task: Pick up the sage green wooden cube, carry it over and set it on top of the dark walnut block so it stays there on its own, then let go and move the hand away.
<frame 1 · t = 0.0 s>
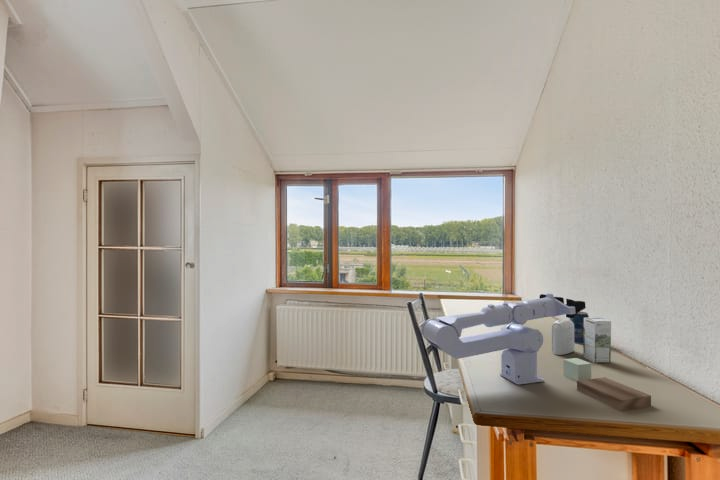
hand: (573, 302, 108), 22 cm above the table, tool horizontal, fingers open, 7 cm apart
photo printer: (563, 353, 126), on the table
soda can: (579, 342, 140), on the table
sage cube: (577, 377, 103), on the table
syrup box: (596, 361, 118), on the table
walnut block: (612, 399, 89), on the table
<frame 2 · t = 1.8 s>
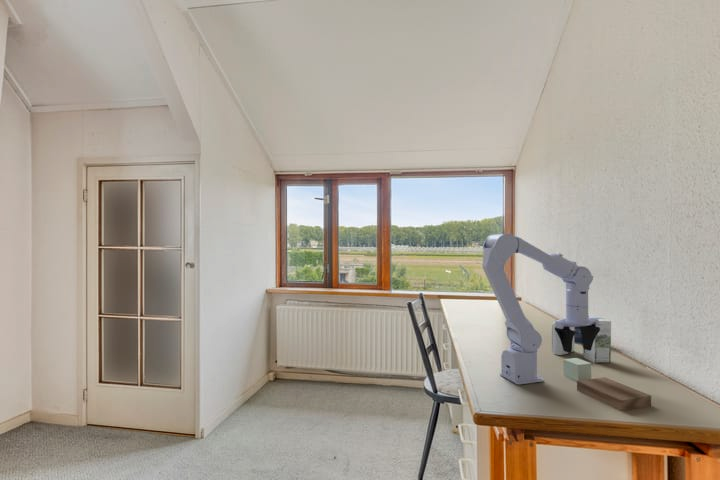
hand: (577, 350, 103), 8 cm above the table, tool pointing down, fingers open, 7 cm apart
nothing on the table moved.
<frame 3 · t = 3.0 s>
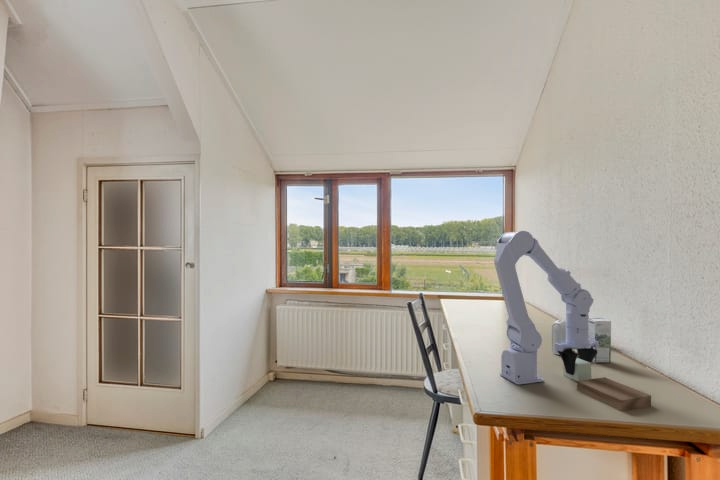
hand: (577, 372, 103), 1 cm above the table, tool pointing down, fingers closed on sage cube, 5 cm apart
sage cube: (577, 377, 103), on the table, touching gripper
everything else where it was.
when the fingers open (5 cm above the table, at t = 6.6 s): sage cube drops 1 cm, point 2 cm above the table.
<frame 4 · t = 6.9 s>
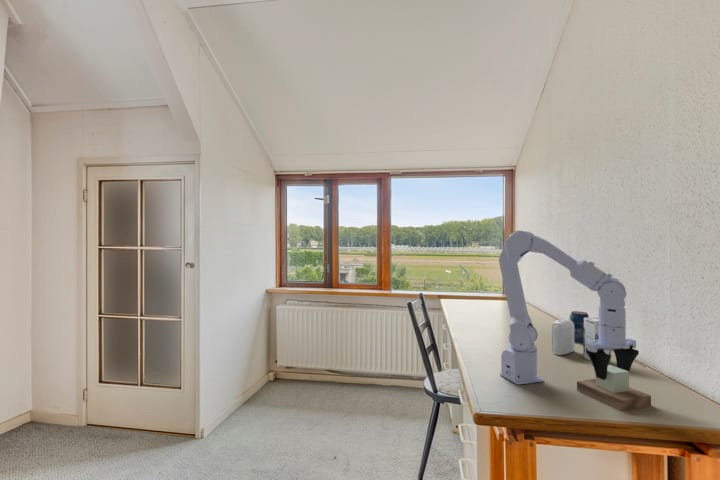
hand: (612, 376, 90), 5 cm above the table, tool pointing down, fingers open, 7 cm apart
sage cube: (612, 388, 90), point 2 cm above the table
everything else where it was.
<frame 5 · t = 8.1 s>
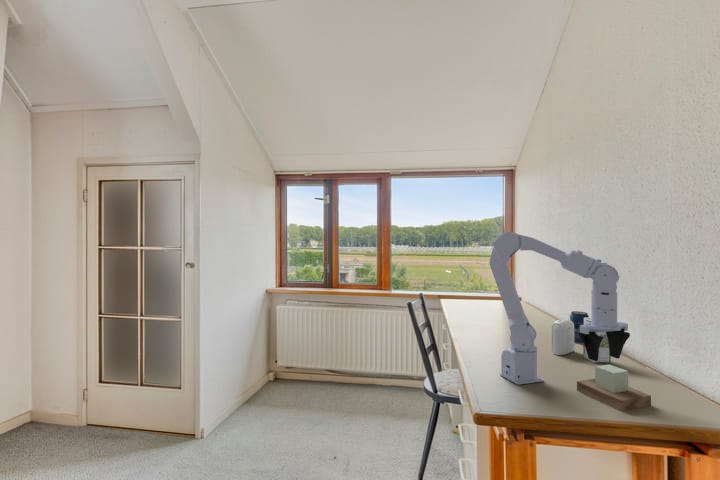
hand: (604, 358, 92), 9 cm above the table, tool pointing down, fingers open, 7 cm apart
sage cube: (611, 387, 90), point 2 cm above the table, touching walnut block
walnut block: (612, 399, 89), on the table, touching sage cube
everything else where it was.
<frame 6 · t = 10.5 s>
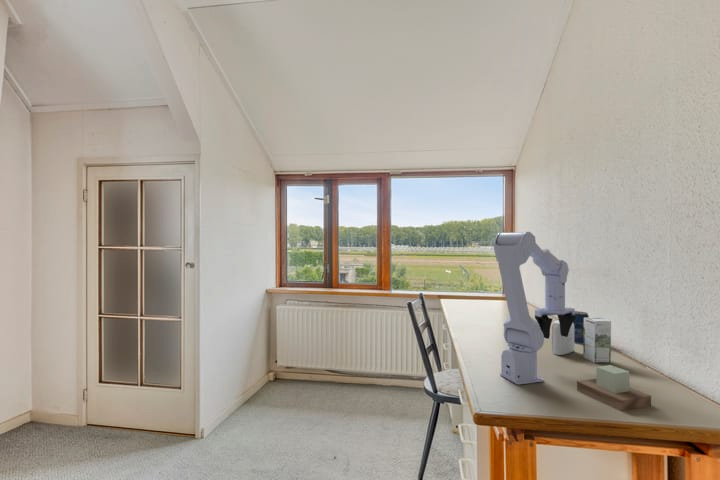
hand: (555, 336, 113), 9 cm above the table, tool pointing down, fingers open, 7 cm apart
nothing on the table moved.
at the end: sage cube inside the target area on the walnut block (0.1 cm from its centre), point 3.0 cm above the walnut block's base; sage cube tilted 0°; the gripper is holding nothing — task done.
